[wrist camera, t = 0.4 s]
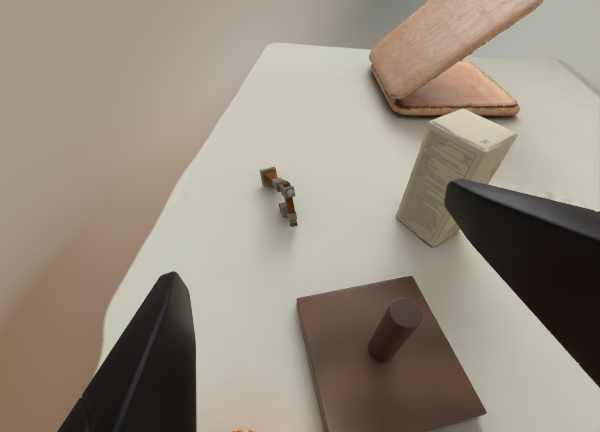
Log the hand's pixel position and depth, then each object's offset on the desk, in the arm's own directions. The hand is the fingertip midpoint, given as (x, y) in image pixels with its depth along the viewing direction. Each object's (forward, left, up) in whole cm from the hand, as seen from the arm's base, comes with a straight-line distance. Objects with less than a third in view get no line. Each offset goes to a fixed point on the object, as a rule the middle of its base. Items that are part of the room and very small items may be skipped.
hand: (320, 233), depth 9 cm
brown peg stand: (0, -6, -15) cm, 16 cm away
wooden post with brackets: (+17, -2, -16) cm, 23 cm away
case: (+39, -33, -16) cm, 53 cm away
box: (+11, -16, -16) cm, 25 cm away
